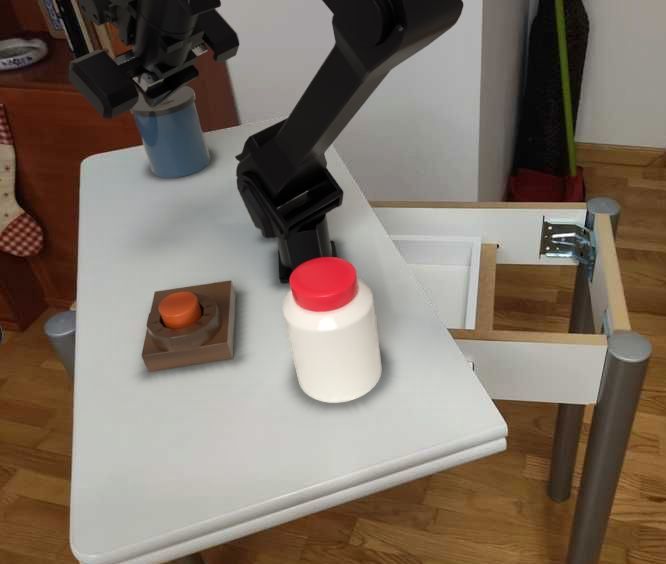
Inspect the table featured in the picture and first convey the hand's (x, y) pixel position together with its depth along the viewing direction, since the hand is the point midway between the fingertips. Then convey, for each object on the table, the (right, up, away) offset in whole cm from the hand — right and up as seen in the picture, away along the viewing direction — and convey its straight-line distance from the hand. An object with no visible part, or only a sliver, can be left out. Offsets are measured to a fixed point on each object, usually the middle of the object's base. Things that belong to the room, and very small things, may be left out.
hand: (150, 104), depth 79 cm
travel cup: (-2, -3, +17) cm, 17 cm away
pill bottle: (+24, -31, -18) cm, 43 cm away
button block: (+9, -27, -12) cm, 31 cm away
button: (+9, -26, -16) cm, 32 cm away
